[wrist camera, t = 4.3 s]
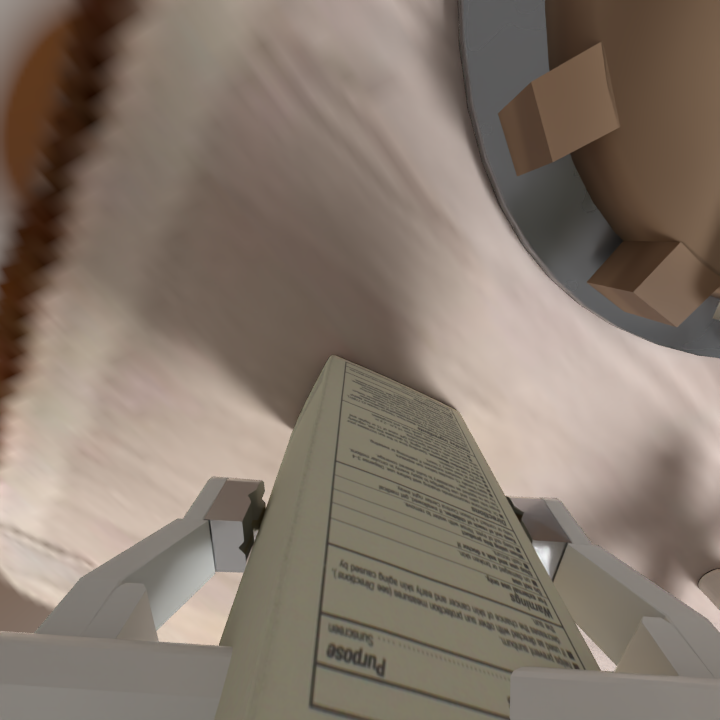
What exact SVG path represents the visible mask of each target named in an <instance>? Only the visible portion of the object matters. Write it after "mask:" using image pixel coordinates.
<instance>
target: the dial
mask: <svg viewBox="0 0 720 720" xmlns="http://www.w3.org/2000/svg"><path fill="white" fill-rule="evenodd" d="M545 16H546V31H547V46H548V61H549V70H550V71H549V72H547V73H546V74H544V75H542V76H540V77H539V78H537V79H535V80H533V81H532V82H530V83H529V84H528V85H527V86H526V87H525V88H524V89H523V90H522V91H521V92H520V93H519V94H518V95H517V96H516V97H515V98H514V99H513V100H511V101H510V102H509V103H508V104H507V105H506V106H505V107H504V108H503V109H502V110H501V111H500V112H499V113H498V116H499V119H500V122H501V126H502V129H503V132H504V135H505V139H506V142H507V145H508V149H509V152H510V155H511V158H512V162H513V165H514V168H515V171H516V175H517V176H520V175H522V174H525V173H527V172H530V171H532V170H535V169H537V168H540V167H542V166H545V165H547V164H550V163H552V162H554V161H556V160H558V159H560V158H562V157H564V156H566V155H568V154H570V155H571V158H572V161H573V163H574V165H575V167H576V169H577V171H578V173H579V175H580V177H581V179H582V181H583V183H584V185H585V187H586V189H587V191H588V193H589V195H590V197H591V199H592V201H593V203H594V204H595V205H596V207H597V208H598V210H599V211H600V212H601V214H602V215H603V217H604V218H605V219H606V221H607V222H608V224H609V225H610V226H611V228H612V229H613V231H614V232H615V233H616V234H617V235H618V236H619V237H620V238H621V239H622V240H623V242H622V243H621V244H620V245H619V246H618V247H617V249H616V250H615V251H614V252H613V253H612V254H611V255H610V256H609V258H608V259H607V260H606V261H605V262H604V263H603V264H602V265H601V267H600V268H599V269H598V270H597V271H596V272H595V273H594V274H593V276H592V277H591V278H590V279H589V280H588V281H587V283H588V284H589V285H591V286H592V287H593V288H594V289H596V290H597V291H598V292H600V293H601V294H602V295H603V296H605V297H606V298H607V299H609V300H610V301H611V302H612V303H614V304H615V305H616V306H618V307H619V308H620V309H621V310H623V311H624V312H627V313H630V314H634V315H637V316H640V317H644V318H647V319H651V320H654V321H657V322H661V323H664V324H667V325H671V326H674V327H678V326H679V325H680V324H681V323H682V322H683V321H684V320H685V319H686V318H687V317H688V316H689V315H690V314H691V313H692V312H694V311H695V310H696V309H697V308H698V307H699V306H700V305H701V304H702V303H703V302H704V301H705V300H706V299H707V298H708V297H709V296H712V297H716V298H719V299H720V0H545ZM712 319H716V320H720V302H719V305H718V307H717V309H716V311H715V314H714V316H713V318H712Z"/></svg>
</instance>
